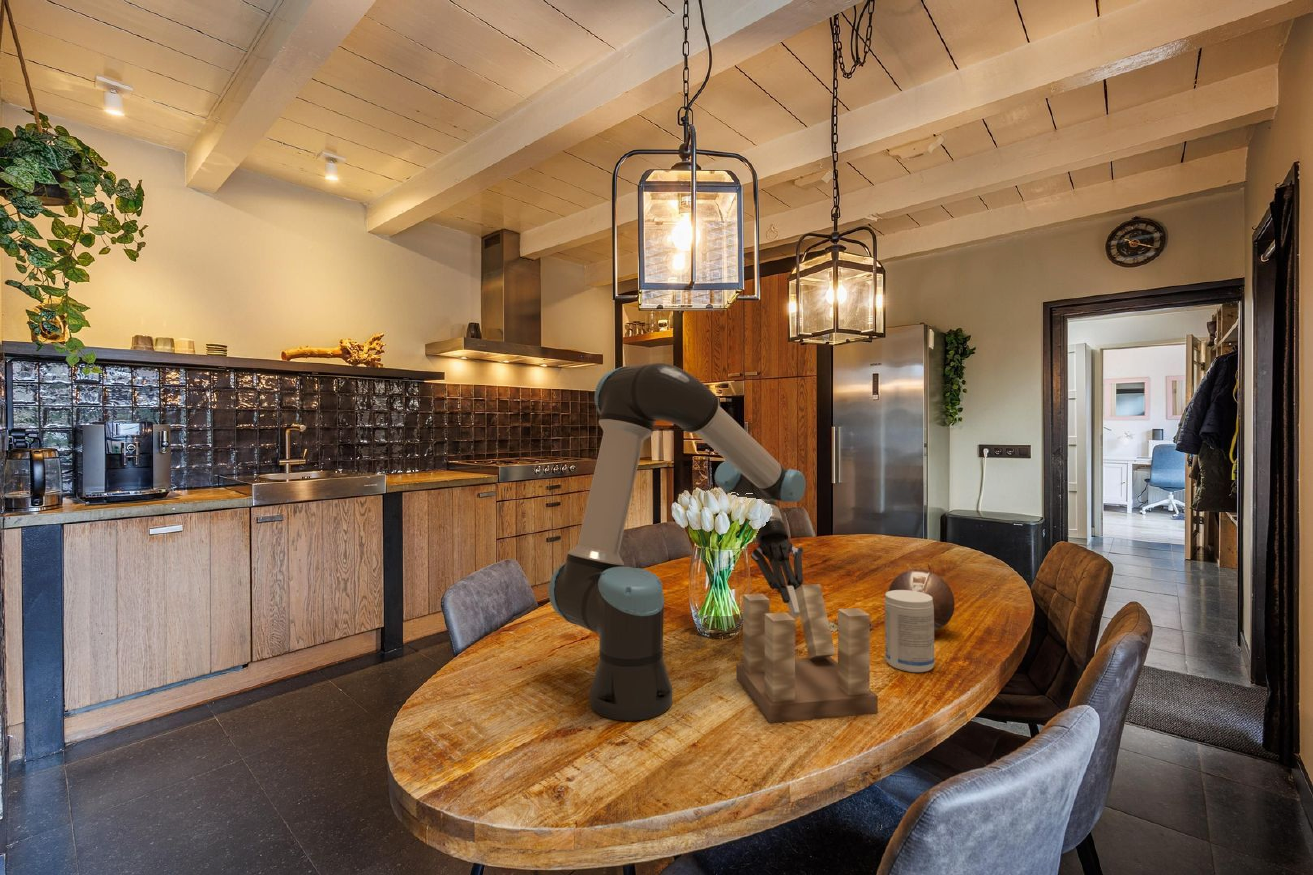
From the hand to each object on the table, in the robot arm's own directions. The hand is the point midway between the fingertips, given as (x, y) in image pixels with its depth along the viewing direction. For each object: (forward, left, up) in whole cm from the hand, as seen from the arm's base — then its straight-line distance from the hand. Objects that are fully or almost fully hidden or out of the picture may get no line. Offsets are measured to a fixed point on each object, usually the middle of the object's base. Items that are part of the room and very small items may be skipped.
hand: (796, 614), depth 129 cm
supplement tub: (+21, -10, -9) cm, 25 cm away
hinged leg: (0, -13, -4) cm, 13 cm away
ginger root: (+19, +13, -9) cm, 25 cm away
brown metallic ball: (+36, +8, -9) cm, 38 cm away
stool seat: (-7, -19, -8) cm, 22 cm away
